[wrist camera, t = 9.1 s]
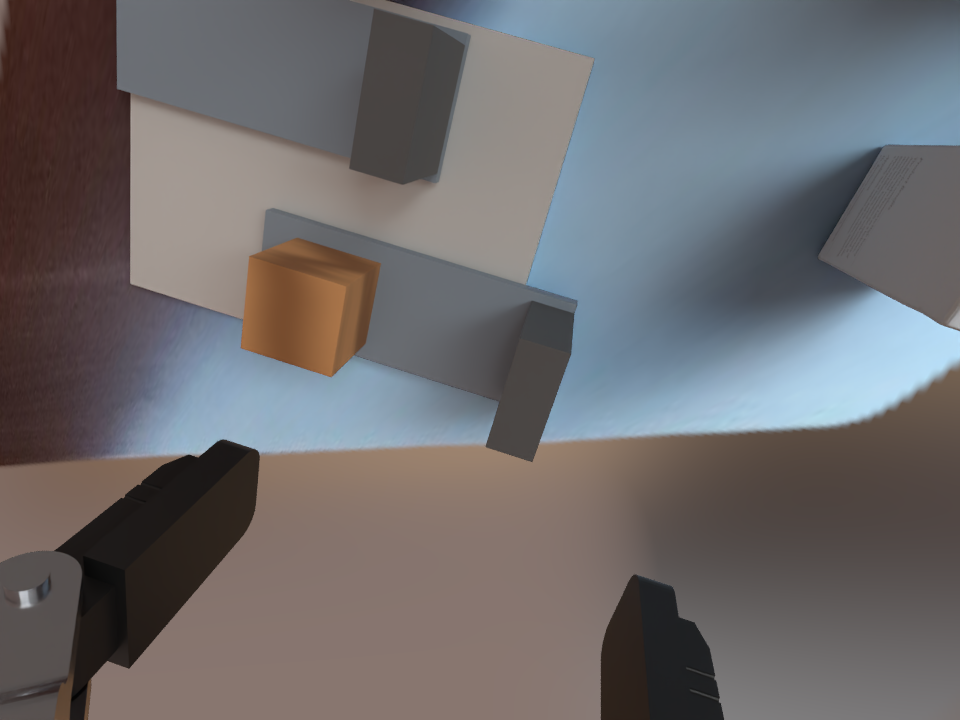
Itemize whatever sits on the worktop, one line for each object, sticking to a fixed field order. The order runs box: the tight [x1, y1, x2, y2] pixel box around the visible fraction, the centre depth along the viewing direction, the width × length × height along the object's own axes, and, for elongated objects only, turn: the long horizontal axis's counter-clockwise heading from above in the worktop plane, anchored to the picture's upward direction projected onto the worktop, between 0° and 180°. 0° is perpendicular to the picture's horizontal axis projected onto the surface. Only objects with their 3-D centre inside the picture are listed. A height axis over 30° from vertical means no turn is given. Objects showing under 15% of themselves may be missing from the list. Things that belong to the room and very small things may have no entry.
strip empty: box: [117, 0, 471, 185], centre depth 26 cm, size 18×7×7 cm, turn 75°
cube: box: [241, 238, 381, 377], centre depth 31 cm, size 5×5×5 cm
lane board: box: [130, 0, 595, 319], centre depth 32 cm, size 24×19×1 cm
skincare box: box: [818, 145, 960, 331], centre depth 23 cm, size 6×4×12 cm
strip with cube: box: [262, 208, 577, 462], centre depth 30 cm, size 18×7×7 cm, turn 75°
